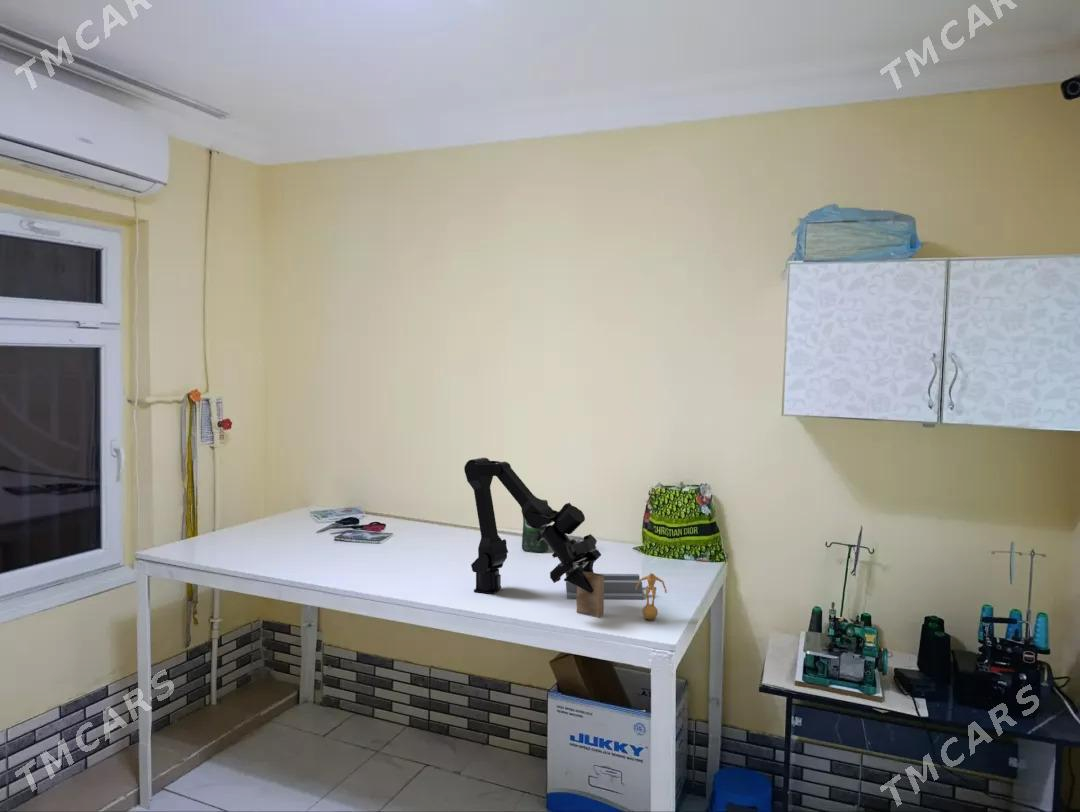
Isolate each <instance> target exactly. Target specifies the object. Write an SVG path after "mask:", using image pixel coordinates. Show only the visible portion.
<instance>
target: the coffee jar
mask: <svg viewBox="0 0 1080 812" xmlns="http://www.w3.org/2000/svg"><path fill="white" fill-rule="evenodd" d="M541 500H542V501H544V502H545V503H546V504H547V505H549V503H548V500H546V499H541ZM520 512H521V514H522V520H523V521H522V536H521V550H522V551H524V550H525V551H524V552H529V551H532V553H542V552H547V551H548V549H549V548H550V547H549V545H548V544H547V542H546V541H545V540H541V541H537V535H538V533H537V532H538V531H541V530H544V529H545V528H546V527H547V526H548V525H546V526H543V527H540V528H532V527H530V526H529V525H528V523H527V521H526V520H525V518H524V516H523V513H522V508H521V511H520ZM546 550H547V551H546Z"/></svg>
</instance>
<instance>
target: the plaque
mask: <svg viewBox="0 0 1080 812" xmlns="http://www.w3.org/2000/svg"><path fill="white" fill-rule="evenodd" d="M583 574H584V575H585V577H586V579H587V580H588V582H589V583H590V585H591V587H592V589H593V592H592V593H589V592H587V591H586V590H584V589H582V588H580V587H578V586H577V599H576V613H578V614H583V615H586V616H591V617H593V618H600V617H603V616H604V615H605V614H604V612H605V609H604V608H605V599H604V575H602V574H603V573H598V572H594V573H592V572H587V571H583Z"/></svg>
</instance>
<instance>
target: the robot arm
mask: <svg viewBox="0 0 1080 812" xmlns="http://www.w3.org/2000/svg"><path fill="white" fill-rule="evenodd" d="M463 468H464V474H465V478H466V481H467V483H468V484H469V486H470V487H471V488H472V489H473V494H474V499H475V500H474V501H475V507H476V513H477V518H478V526H479V530H480V541H479V544H478V549H477V552H478V553H477V554H478V556H477V557H476V559H475V560H474V561H473V562H471V564H470V567H471V570H472V572H473V573H475V588H474V589H473V592H474V593H482V594H483V593H484V594H490V595H492V594H493V595H494V594H496V593H497V592H498V591H499V590H501V589H502V585H501V581H502V580H501V577H502V575H501V574H500V569H502V568H503V566H504V563H505V562H506V559H507V558H508V554H509V550H508V548H507V540H506V539H502V538H501V537H500V536H499V534H498V533H499V532H498V529H497V520H496V516H495V509H494V503H493V497H492V490H491V486H492V481H493V479H494V477H497V479H498V480H499V481H500V482H501V484H502V485H503V486H504V488H505V489H506V490H507V491H508V493H510V495H511V496H512V498H513V499H514V500H515V501H516V502H517V504H518V505H519V506H520V508H521V509H522V512H521V514H522V513H523V515H522V517H523V516H524V518H525V520H526V521H527V523H528V525H529V526H530V527H532V528H540V527H543V526H546V525H547V527H546V528H545V529H544V530H541V531H538V532H537V533H538V535H537V541H541V540H545V541H546V542H547V544H548V545H549V548H550V549H551V551H552V552H553V553H552V554H551V556H552V558H553V559H555V558H557V559H558V560H559V563H558V564H557V565H556V566H555V567H554V568H553V569H552V570H551V571H550V572H549V578H550V580H551V581H552V583H553V584H555V583H557V582H559V581H560V580H561V577H563V575H564V574H565V578H564V579H563V580H564V581H565V582H566V581H568V582H570V583H572V584H575V585H577V586H578V587H580V588H582V589H584V590H586V591H587V592H589V593H592V592H593V589H592V587H591V585H590V583H589V582H588V580H587V579H586V577H585V575H584V574H583V571H587V572H592V573H595V572H594V569H593V567H594V563H595V562H596V561H597V560H598V559H599V558H601V556H602V554H601V552H600V551H599V550H598V549H597V546H596V544H597V542H598V541H597V539H596V538H595V536H593V535H592V534H591V533H590V534H587V535H585V536H583V540H580V541H576V539H570V538H569V536H568V535H572V534H573V532H574V531H576V530H577V529H578V528H579V527H580V526H581V525H582V524H583V522H585V521H586V517H585V514H584V512H583V511H582V510H581V509H579V508H578V507H576V506H574V505H572V503H570V502H567V503H564V504H563V506H562V507H561V509H560V510H559V511H557V510H555V509H553V508H552V507H551V506H550V505H549V504H548V505H547V504H546V503H545V502H544V501H542V500H543V499H540V498H538V497H537V496H535V495H534V494H533V493H532V492H531V490H530V489H529V488H528V487H527V485H526V484H525V483H524V482H523V480H522V479H521V478H520V477H519V476H518V474H517V473H516V472H515V470H514V469H513V468H512V466H511V464H510V463H509V462H508V461H500V460H499V461H498V460H490V459H489V458H487V457H479V458H473V459H469V460H468V461H467V462H466V463H465V464H464V467H463ZM552 523H553V524H552ZM507 560H508V559H507ZM566 576H567V577H566Z"/></svg>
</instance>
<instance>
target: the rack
mask: <svg viewBox="0 0 1080 812" xmlns="http://www.w3.org/2000/svg"><path fill="white" fill-rule="evenodd" d="M601 574H602V575H604V600H644V594H643V580H642V581H641V582H640V584H639V585H638V587H637V590H635V589H636V586H637V584H638V582H639V580H640V579H641V578H640V574H639V573H601ZM566 577H567V576H566V575H565V578H566ZM565 592H566V595H565V596H566V600H567V599H575V600H577V585H575V584H572V583H570V582H568V581H565Z"/></svg>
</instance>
